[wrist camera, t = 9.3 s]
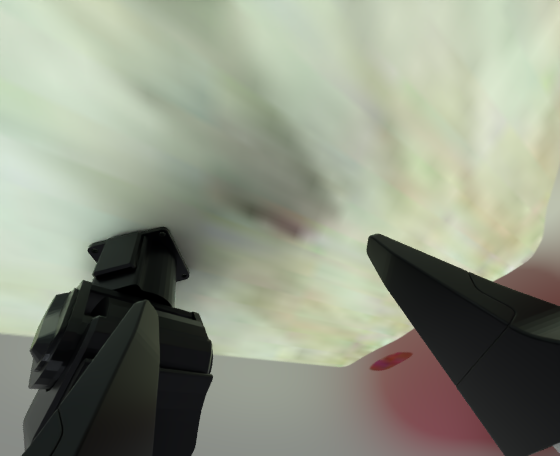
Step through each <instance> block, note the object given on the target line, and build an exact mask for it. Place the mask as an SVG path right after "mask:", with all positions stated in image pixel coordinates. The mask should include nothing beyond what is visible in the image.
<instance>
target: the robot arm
mask: <svg viewBox="0 0 560 456" xmlns="http://www.w3.org/2000/svg"><path fill="white" fill-rule="evenodd" d="M161 232H164V233H165V234H161ZM94 249H97V250H94ZM88 253H89V254H90V255H91V256H92V258H93V259H94V260H95V261H96V263H97V265H96V267H95V269H94V271H93V274H92V275H93V277H94V279H93V281H92V282H88V281H85V280H83V281H82V282H81V283H80V285H79V286H78V287H77V289H76V288H74V290H73V291H72V292H71V291H70V292H69V293H64V294H59V295H56V296H55V298H54V299H53V300H52V302H51V304H50V306H49V308H48V309H47V311H46V313H45V315H44V317H43V319H42V321H41V323H40V325H39V327H38V329H37V332H36V335H35V337H34V340H33V343H32V346H31V349H30V352H31V355H32V357H33V363H32V369H31V375H30V380H29V388H30V389H39V390H38V392H37V394H36V396H35V398H34V400H33V402H32V404H31V406H30V408H29V410H28V412H27V414H26V416H25V418H24V422H23V432H24V445H25V452H24V453H23V454H22V456H191V455H192V453H193V451H194V448H195V445H196V438H197V432H198V426H199V420H200V415H201V410H202V406H203V403H204V399H205V396H206V393H207V391H208V389H209V386H210V384H211V382H212V379H213V376H212V374H210V372H211V368H212V360H213V351H212V342H211V340H209V339H208V336H207V333H206V331H205V327H204V326H203V323H202V321H201V318H200V315H199V313H196V312H188V311H184V310H181V309H177V308H174V302H175V287H176V282H178V281H181V280H185V279H188V278H189V271H188V268H187V266H186V264H185V262H184V260H183V258H182V256H181V254H180V252H179V250H178V248H177V246H176V244H175V242H174V240H173V238H172V236H171V234H170V232H169V230H168V229H167V228H165V227H160V228H156V229H152V230H147V231H143V232H135V233H131V234H127V235H122V236H118V237H114V238H110V239H108V240H106V241H102V242H98V243H94V244H91V245H90V246H89V248H88ZM367 255H368V257H369V258H370V260H371V262H372V264H373V266H374V267H375V269H376V271H377V273H378V275H379V276H380V278H381V280H382V282H383V283H384V285H385V287H386V288H387V289H388V291H389V292H390V294H391V295H392V297H393V298H394V299H395V301H396V302H397V304H398V305H399V306H400V308H401V309H402V311H403V312H404V314H405V315H406V316H407V318H408V319H409V321H410V322H411V323H412V325H413V326H414V328H415V329H416V331H417V332H418V333H419V335H420V336H421V338H422V339H423V340H424V342H425V343H426V345H427V346H428V348H429V349H430V350H431V352H432V353H433V355H434V356H435V357H436V359H437V360H438V362H439V363H440V365H441V366H442V367H443V369H444V370H445V371H446V373H447V374H448V375H449V377H450V379H451V380H452V381H453V383H454V384H455V385H456V387H457V389H458V390H459V392H460V393H461V394H462V396H463V397H464V399H465V400H466V402H467V403H468V404H469V406H470V407H471V409H472V410H473V411H474V413H475V414H476V416H477V417H478V419H479V420H480V421H481V423H482V424H483V426H484V427H485V428H486V430H487V431H488V433H489V434H490V435H491V437H492V438H493V440H494V441H495V443H496V444H497V445H498V447H499V448H500V450H501V451H502V452H503V454H504V455H505V456H529V455H531V454H534V453H536V452H538V451H541V450H544V449H546V448H548V447H551V446H553V447H554V448H555V449H556V450H557V451H558V452H559V453H560V306H557V305H555V304H552V303H549V302H546V301H543V300H540V299H538V298H535V297H532V296H530V295H527V294H524V293H521V292H518V291H516V290H512V289H510V288H508V287H505V286H502V285H500V284H497V283H494V282H492V281H490V280H487V279H485V278H482V277H480V276H477V275H475V274H473V273H470V272H467V271H466V270H463V269H461V268H459V267H456V266H454V265H452V264H449V263H447V262H444V261H442V260H440V259H437V258H435V257H433V256H430V255H428V254H426V253H423V252H421V251H419V250H416V249H414V248H412V247H409V246H407V245H405V244H402V243H400V242H398V241H395V240H393V239H391V238H388V237H386V236H384V235H381V234H374V235H371V236H369V238H368V243H367ZM183 274H186V275H183Z"/></svg>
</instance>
